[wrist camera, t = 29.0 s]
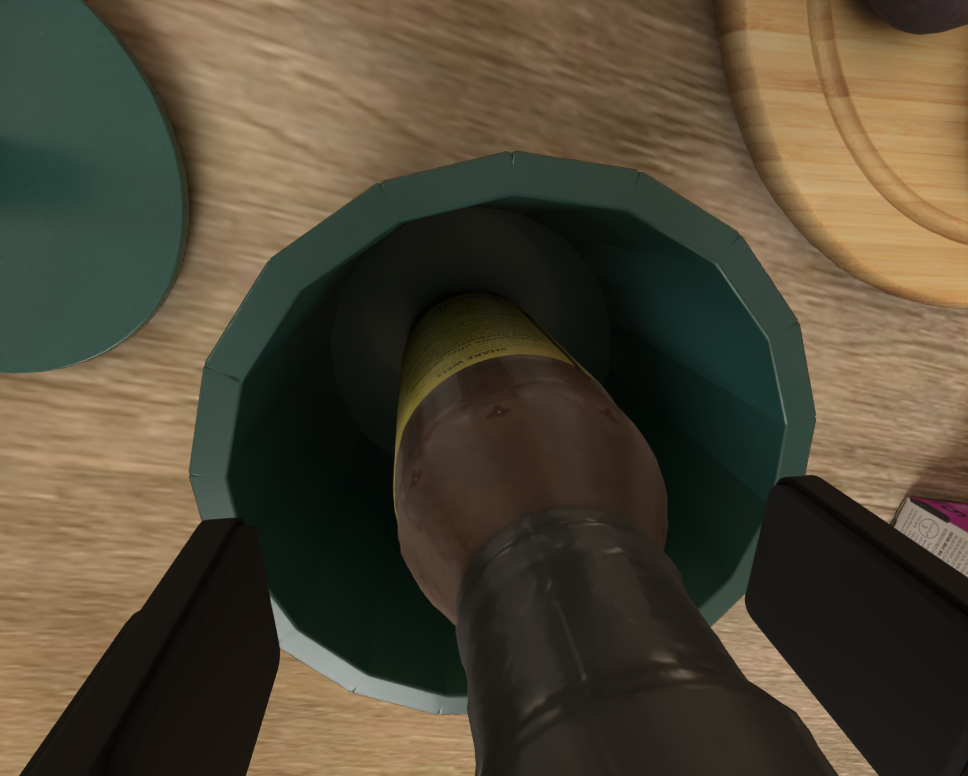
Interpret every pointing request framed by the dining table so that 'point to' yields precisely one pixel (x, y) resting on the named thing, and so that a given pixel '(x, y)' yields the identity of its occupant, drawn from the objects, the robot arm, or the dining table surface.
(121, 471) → the dining table surface
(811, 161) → the wooden plate
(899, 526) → the candy bar box
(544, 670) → the sauce bottle
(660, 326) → the tin
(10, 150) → the tin lid
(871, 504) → the dining table surface
